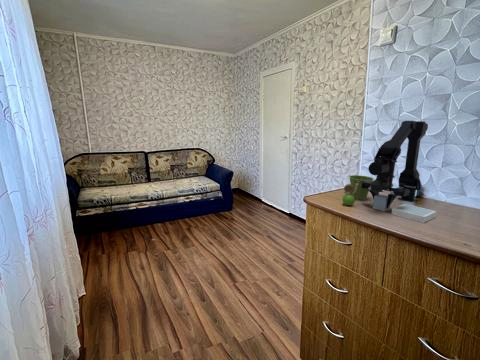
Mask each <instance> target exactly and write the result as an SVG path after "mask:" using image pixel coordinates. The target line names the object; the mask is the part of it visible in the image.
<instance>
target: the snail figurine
mask: <svg viewBox="0 0 480 360" xmlns="http://www.w3.org/2000/svg"><path fill="white" fill-rule="evenodd" d="M358 186H359V181H358V184H356V185H355V189H354V186H353V185H351V184H350V183H348V184H346V185H345V186H344V187H343V190H344V191H343V193H344V195H343V196H342V203H343V204H344V205H345V206H352V205H354V203H355V201H356V199H355V198H354V196H353V195H352V194H354V193H355V192H356V191H357V188H358Z"/></svg>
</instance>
